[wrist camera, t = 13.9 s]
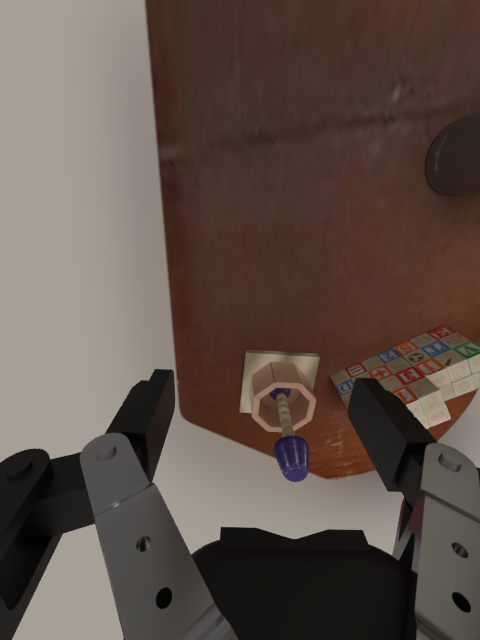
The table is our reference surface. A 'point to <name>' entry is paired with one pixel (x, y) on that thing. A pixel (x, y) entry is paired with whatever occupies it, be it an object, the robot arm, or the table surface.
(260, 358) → the birch board
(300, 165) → the table surface
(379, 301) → the table surface
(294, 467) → the toy lamp
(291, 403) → the beige octagonal hollow piece
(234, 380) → the table surface
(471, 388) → the stack of blocks
